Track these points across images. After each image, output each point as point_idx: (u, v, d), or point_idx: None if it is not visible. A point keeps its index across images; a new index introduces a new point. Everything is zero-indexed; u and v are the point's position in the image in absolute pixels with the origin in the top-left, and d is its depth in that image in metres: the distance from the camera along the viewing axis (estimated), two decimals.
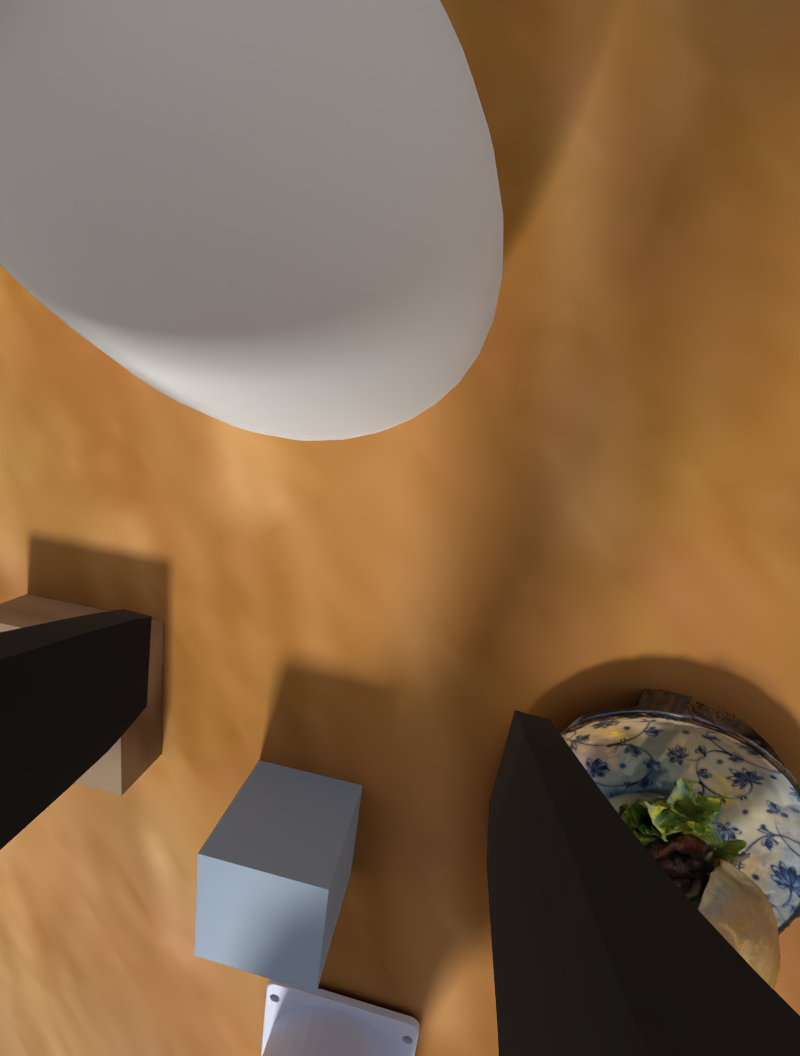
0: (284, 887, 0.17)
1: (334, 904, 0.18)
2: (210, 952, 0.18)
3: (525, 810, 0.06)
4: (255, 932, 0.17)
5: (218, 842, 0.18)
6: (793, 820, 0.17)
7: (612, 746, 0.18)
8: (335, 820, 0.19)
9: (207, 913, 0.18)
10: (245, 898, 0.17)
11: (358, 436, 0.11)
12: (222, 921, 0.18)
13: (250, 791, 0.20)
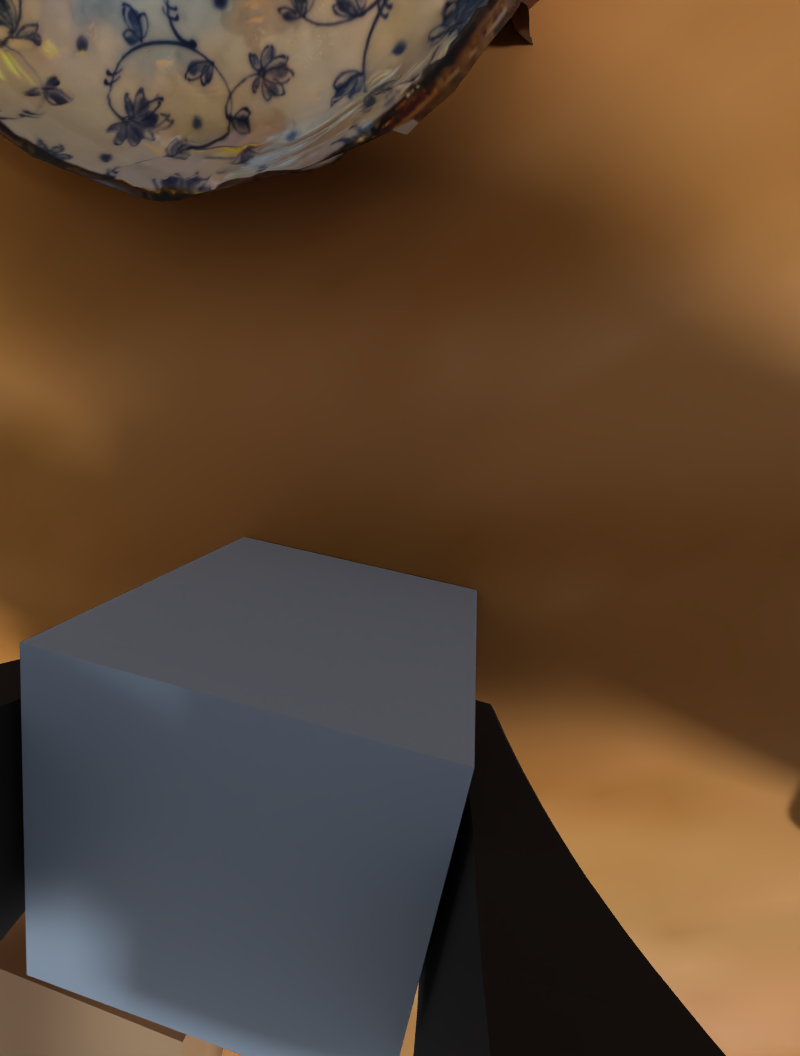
0: (55, 778, 0.05)
1: (293, 638, 0.06)
2: None
3: None
4: (246, 904, 0.05)
5: None
6: None
7: None
8: None
9: (212, 1018, 0.06)
10: (129, 898, 0.06)
11: None
12: (229, 984, 0.06)
13: None
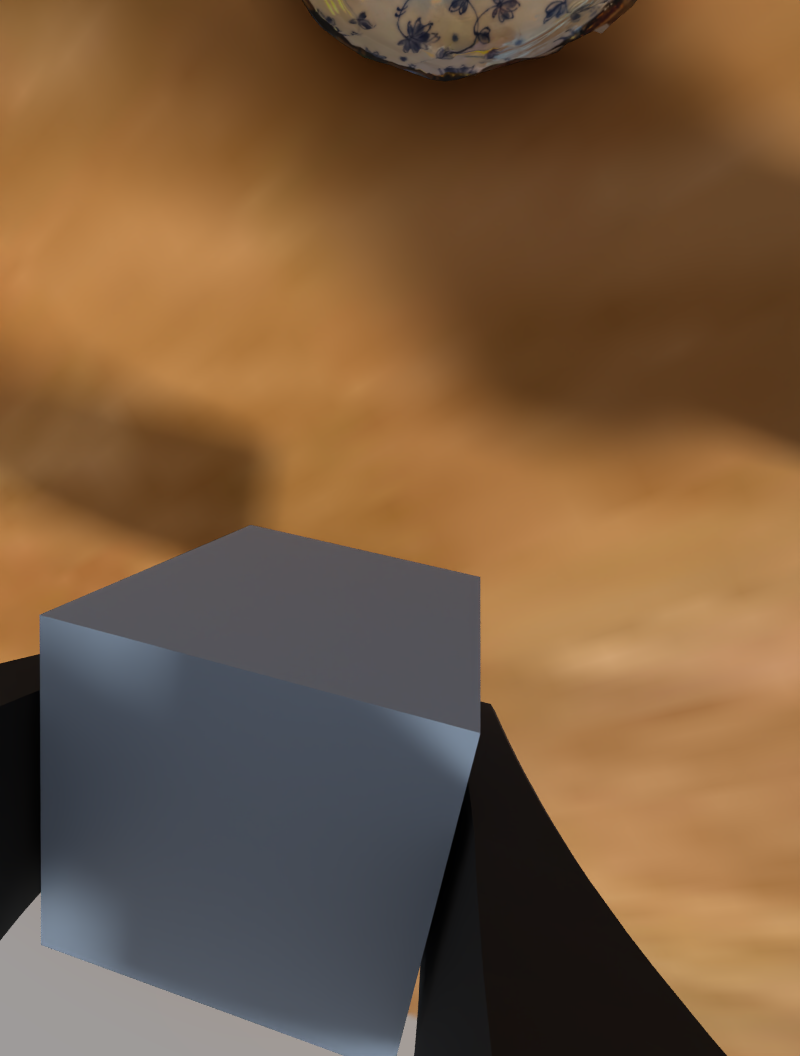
0: (72, 748, 0.06)
1: (302, 616, 0.06)
2: (369, 1026, 0.06)
3: None
4: (257, 872, 0.05)
5: None
6: None
7: None
8: None
9: (223, 985, 0.06)
10: (143, 867, 0.06)
11: None
12: (239, 952, 0.06)
13: None
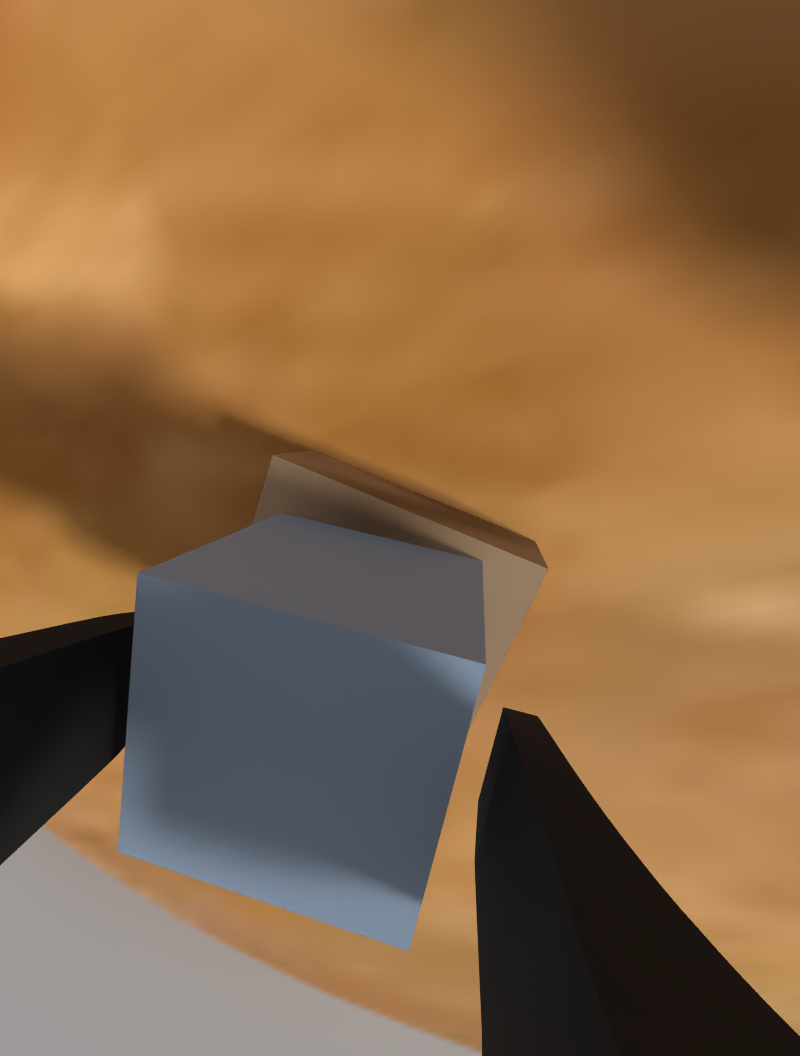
0: (157, 681, 0.07)
1: (339, 583, 0.08)
2: (392, 911, 0.07)
3: (511, 805, 0.06)
4: (304, 782, 0.07)
5: None
6: None
7: None
8: None
9: (272, 880, 0.07)
10: (209, 782, 0.07)
11: None
12: (287, 851, 0.07)
13: None
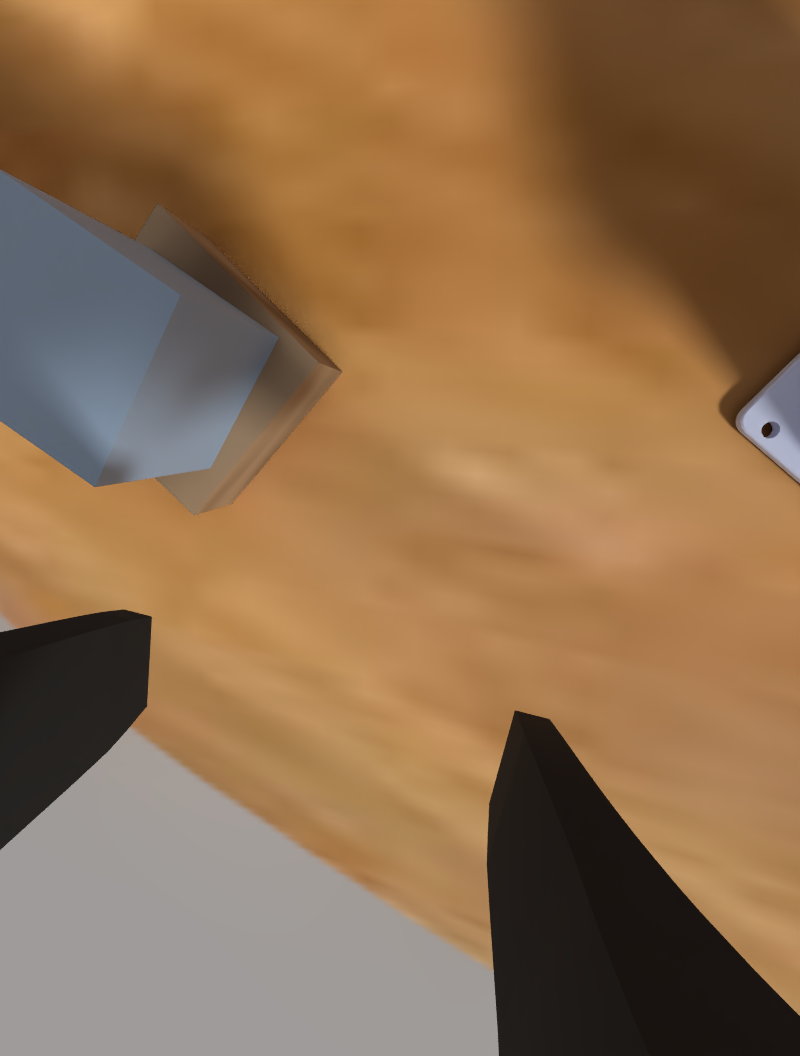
0: None
1: (136, 254, 0.11)
2: (91, 454, 0.11)
3: (526, 810, 0.06)
4: (59, 348, 0.11)
5: None
6: None
7: None
8: None
9: (23, 416, 0.11)
10: (1, 332, 0.11)
11: None
12: (37, 397, 0.11)
13: None
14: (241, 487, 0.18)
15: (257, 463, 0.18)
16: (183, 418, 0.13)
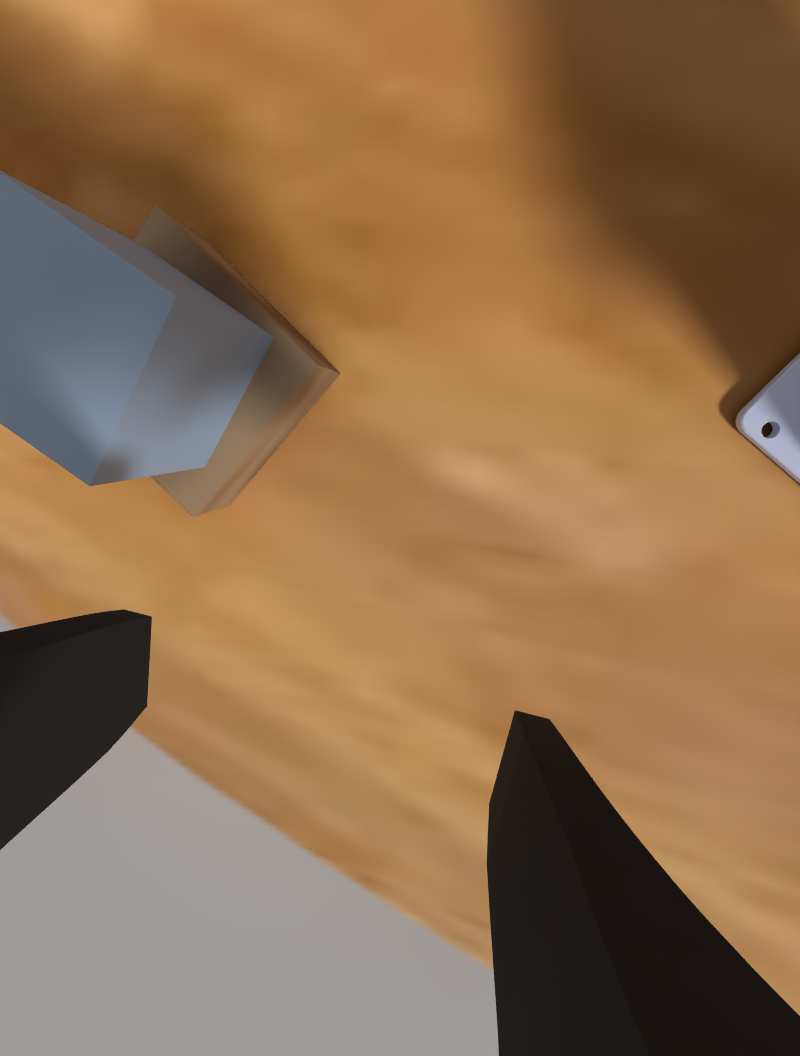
0: None
1: (132, 254, 0.11)
2: (86, 454, 0.11)
3: (526, 810, 0.06)
4: (55, 347, 0.11)
5: None
6: None
7: None
8: None
9: (17, 415, 0.11)
10: None
11: None
12: (33, 395, 0.11)
13: None
14: (240, 488, 0.18)
15: (255, 464, 0.18)
16: (178, 417, 0.13)
